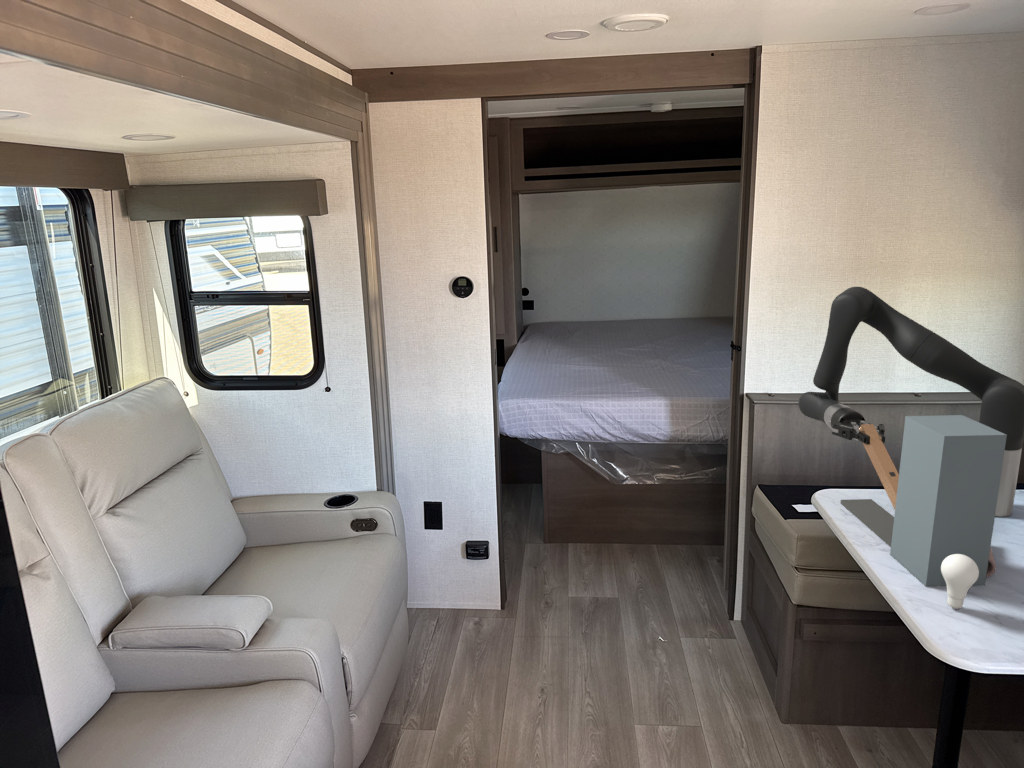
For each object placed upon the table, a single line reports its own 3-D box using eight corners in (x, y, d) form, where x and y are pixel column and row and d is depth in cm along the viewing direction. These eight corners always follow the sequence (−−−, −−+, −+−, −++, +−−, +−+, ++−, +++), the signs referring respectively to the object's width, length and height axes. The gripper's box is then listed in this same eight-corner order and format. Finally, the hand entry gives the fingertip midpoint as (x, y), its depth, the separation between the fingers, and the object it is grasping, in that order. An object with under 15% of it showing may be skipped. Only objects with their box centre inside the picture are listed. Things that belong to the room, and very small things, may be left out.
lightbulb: (929, 600, 141) (935, 549, 138) (958, 598, 141) (965, 547, 138) (950, 617, 135) (957, 564, 132) (980, 615, 135) (988, 562, 133)
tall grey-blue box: (890, 554, 159) (905, 416, 152) (944, 553, 159) (962, 415, 152) (925, 586, 146) (944, 436, 138) (984, 585, 146) (1006, 434, 138)
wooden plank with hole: (857, 432, 182) (861, 424, 180) (869, 432, 182) (873, 424, 180) (894, 509, 165) (899, 501, 163) (907, 509, 165) (912, 501, 163)
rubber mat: (840, 503, 188) (840, 499, 187) (871, 502, 188) (871, 499, 187) (892, 548, 162) (892, 544, 162) (927, 547, 162) (927, 543, 162)
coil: (999, 561, 147) (989, 527, 163) (972, 554, 149) (965, 521, 165) (993, 581, 148) (984, 545, 164) (967, 574, 150) (960, 539, 166)
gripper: (819, 407, 192) (848, 426, 175) (871, 406, 192) (906, 425, 175) (816, 434, 194) (845, 455, 177) (868, 433, 194) (902, 454, 177)
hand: (875, 440), depth 176 cm, fingers closed on wooden plank with hole, 3 cm apart
